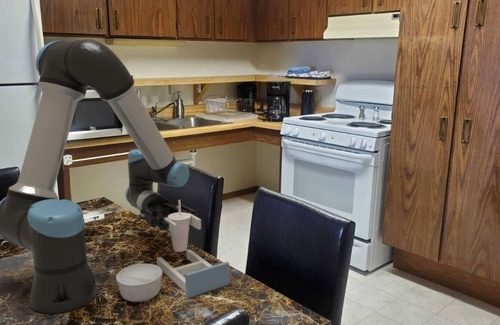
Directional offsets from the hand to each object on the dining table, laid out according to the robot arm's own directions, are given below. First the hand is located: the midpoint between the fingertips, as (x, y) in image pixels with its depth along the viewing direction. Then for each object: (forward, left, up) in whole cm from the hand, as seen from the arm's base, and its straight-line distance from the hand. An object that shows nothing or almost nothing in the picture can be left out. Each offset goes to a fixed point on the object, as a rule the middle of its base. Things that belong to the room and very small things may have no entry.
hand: (188, 227), depth 115 cm
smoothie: (+2, +4, -8) cm, 10 cm away
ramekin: (-13, +6, -14) cm, 20 cm away
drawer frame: (-1, -1, -14) cm, 14 cm away
